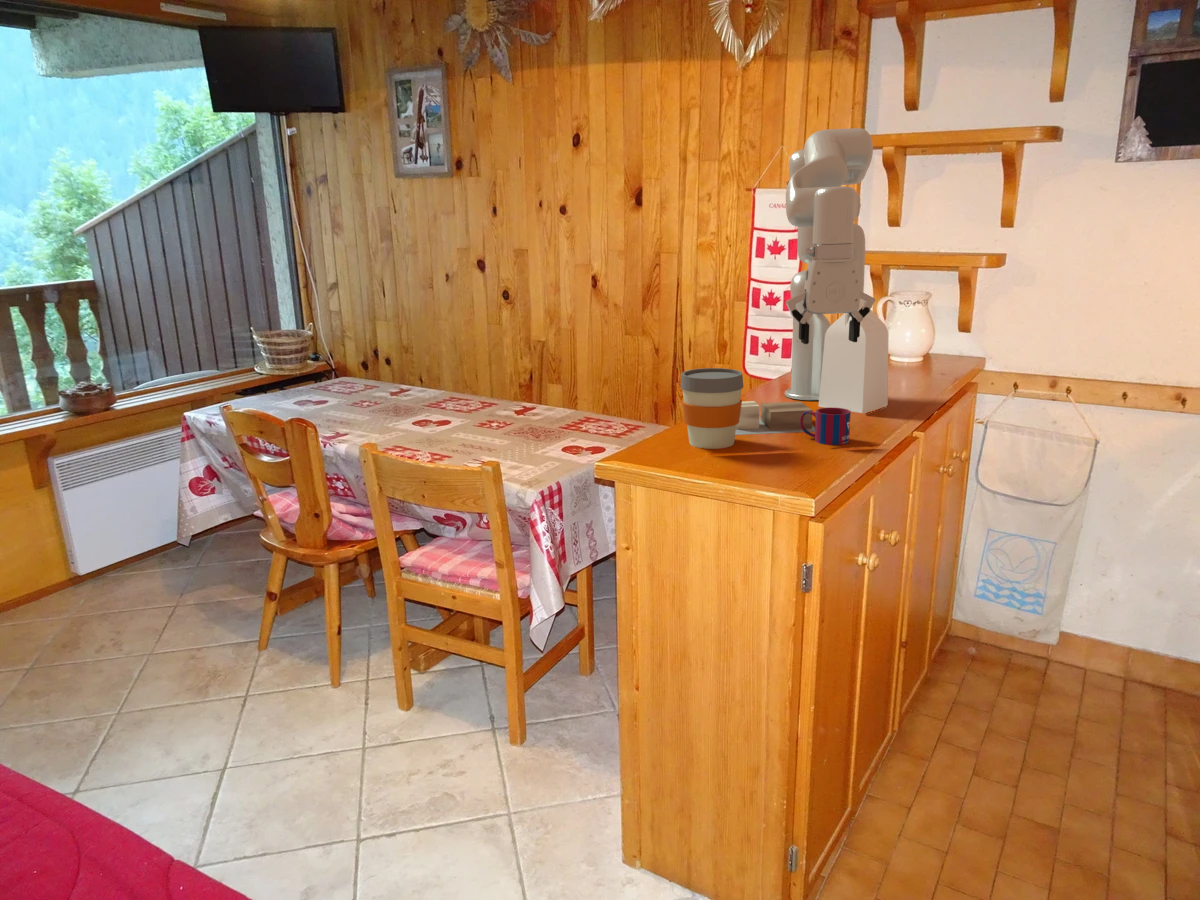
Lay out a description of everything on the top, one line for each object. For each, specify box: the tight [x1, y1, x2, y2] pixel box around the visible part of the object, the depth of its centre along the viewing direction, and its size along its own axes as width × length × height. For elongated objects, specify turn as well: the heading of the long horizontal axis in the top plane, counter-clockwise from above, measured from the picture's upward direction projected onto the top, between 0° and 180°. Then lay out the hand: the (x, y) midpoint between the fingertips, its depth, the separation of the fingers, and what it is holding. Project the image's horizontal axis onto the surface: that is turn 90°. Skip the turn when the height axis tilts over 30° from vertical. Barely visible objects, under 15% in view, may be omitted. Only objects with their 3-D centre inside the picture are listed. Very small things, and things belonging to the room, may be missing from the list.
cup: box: [800, 407, 852, 449], centre depth 172 cm, size 7×10×7 cm
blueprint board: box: [735, 417, 815, 436], centre depth 186 cm, size 14×18×1 cm
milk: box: [818, 299, 890, 414], centre depth 199 cm, size 12×12×26 cm
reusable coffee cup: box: [680, 367, 744, 450], centre depth 171 cm, size 13×13×15 cm
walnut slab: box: [760, 401, 814, 430], centre depth 185 cm, size 9×9×4 cm
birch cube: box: [736, 400, 760, 429], centre depth 185 cm, size 5×5×5 cm
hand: (828, 342), depth 167 cm, fingers open, 9 cm apart
